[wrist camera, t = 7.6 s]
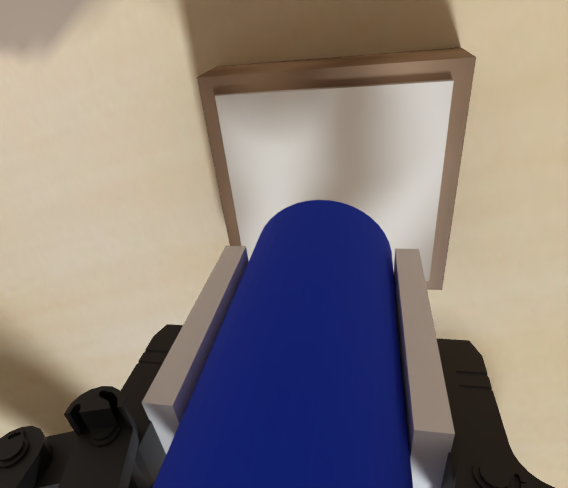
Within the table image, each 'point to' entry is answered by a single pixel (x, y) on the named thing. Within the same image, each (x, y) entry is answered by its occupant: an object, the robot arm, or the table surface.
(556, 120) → the table surface
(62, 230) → the table surface
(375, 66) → the stand
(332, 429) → the beverage can
